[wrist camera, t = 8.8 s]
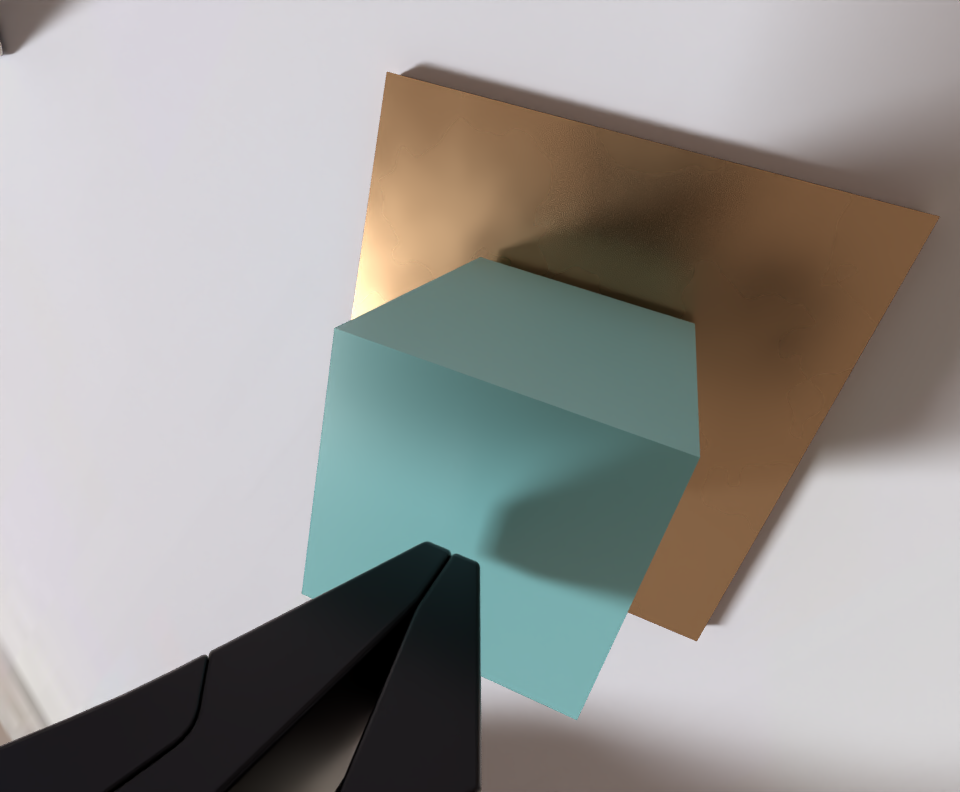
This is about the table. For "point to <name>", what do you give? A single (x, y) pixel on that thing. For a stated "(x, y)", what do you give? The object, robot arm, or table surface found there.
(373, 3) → the table surface
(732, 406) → the brown square base plate
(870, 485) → the table surface
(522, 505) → the teal rectangular block
